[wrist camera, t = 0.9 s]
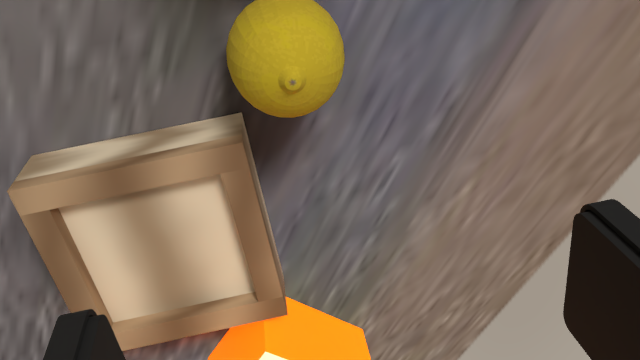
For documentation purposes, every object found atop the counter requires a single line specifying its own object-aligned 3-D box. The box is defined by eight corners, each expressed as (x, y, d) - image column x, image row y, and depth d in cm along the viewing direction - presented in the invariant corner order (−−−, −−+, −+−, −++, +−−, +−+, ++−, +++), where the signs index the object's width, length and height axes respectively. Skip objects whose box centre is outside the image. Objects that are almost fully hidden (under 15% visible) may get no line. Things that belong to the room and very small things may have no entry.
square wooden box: (241, 112, 32) (242, 142, 29) (282, 273, 38) (287, 314, 35) (31, 155, 32) (7, 191, 28) (107, 312, 38) (94, 357, 34)
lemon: (337, -15, 29) (369, 23, 22) (322, 86, 32) (347, 148, 25) (230, -28, 28) (229, 7, 22) (224, 77, 31) (221, 139, 24)
